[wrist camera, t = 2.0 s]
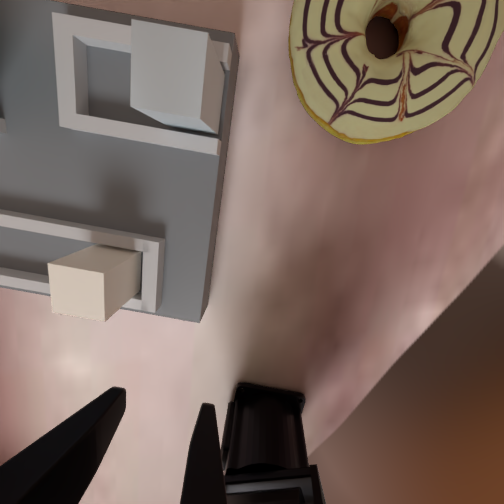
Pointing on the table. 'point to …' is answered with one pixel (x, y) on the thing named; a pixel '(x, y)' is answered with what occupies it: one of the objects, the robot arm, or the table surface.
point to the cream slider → (94, 281)
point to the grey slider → (176, 76)
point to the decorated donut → (388, 62)
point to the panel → (102, 158)
